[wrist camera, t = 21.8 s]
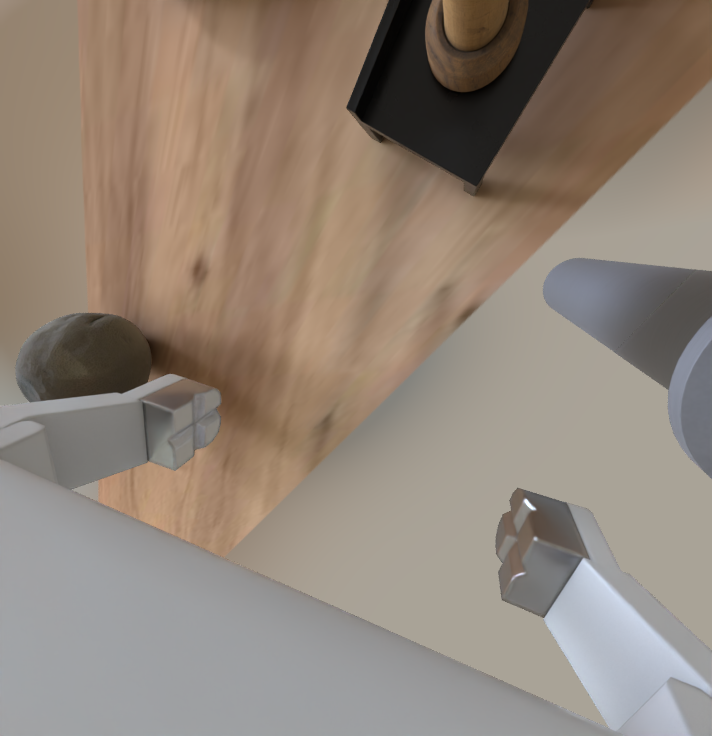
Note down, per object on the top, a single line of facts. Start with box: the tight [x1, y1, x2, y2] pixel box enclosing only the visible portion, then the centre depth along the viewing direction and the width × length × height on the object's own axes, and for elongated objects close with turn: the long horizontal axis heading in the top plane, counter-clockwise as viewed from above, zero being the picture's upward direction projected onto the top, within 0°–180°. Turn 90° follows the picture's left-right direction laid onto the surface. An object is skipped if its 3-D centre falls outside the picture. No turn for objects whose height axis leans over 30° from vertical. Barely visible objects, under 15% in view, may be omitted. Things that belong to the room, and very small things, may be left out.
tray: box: [346, 0, 593, 196], centre depth 26 cm, size 12×16×8 cm
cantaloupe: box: [16, 313, 151, 402], centre depth 45 cm, size 14×14×15 cm
